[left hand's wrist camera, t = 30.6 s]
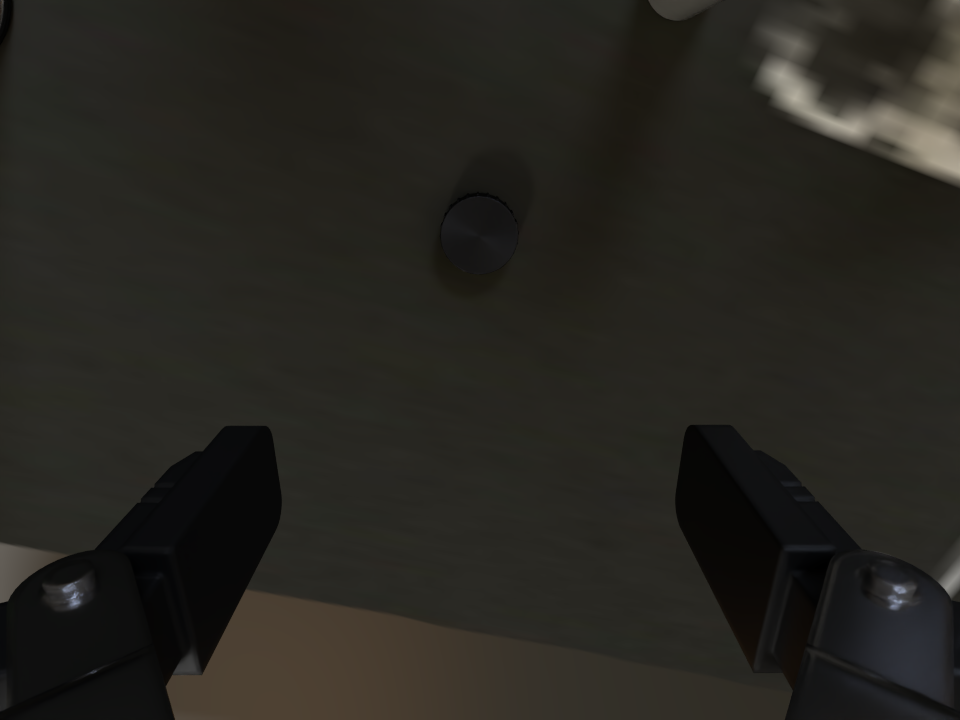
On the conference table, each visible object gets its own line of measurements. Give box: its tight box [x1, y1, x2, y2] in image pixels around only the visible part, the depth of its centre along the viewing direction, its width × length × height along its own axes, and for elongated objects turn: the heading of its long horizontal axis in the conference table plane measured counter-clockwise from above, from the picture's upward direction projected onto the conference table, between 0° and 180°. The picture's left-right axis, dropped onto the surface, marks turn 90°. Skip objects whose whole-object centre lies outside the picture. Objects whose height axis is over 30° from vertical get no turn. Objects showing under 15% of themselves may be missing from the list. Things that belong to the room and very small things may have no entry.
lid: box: [440, 192, 519, 274], centre depth 37 cm, size 5×5×2 cm
